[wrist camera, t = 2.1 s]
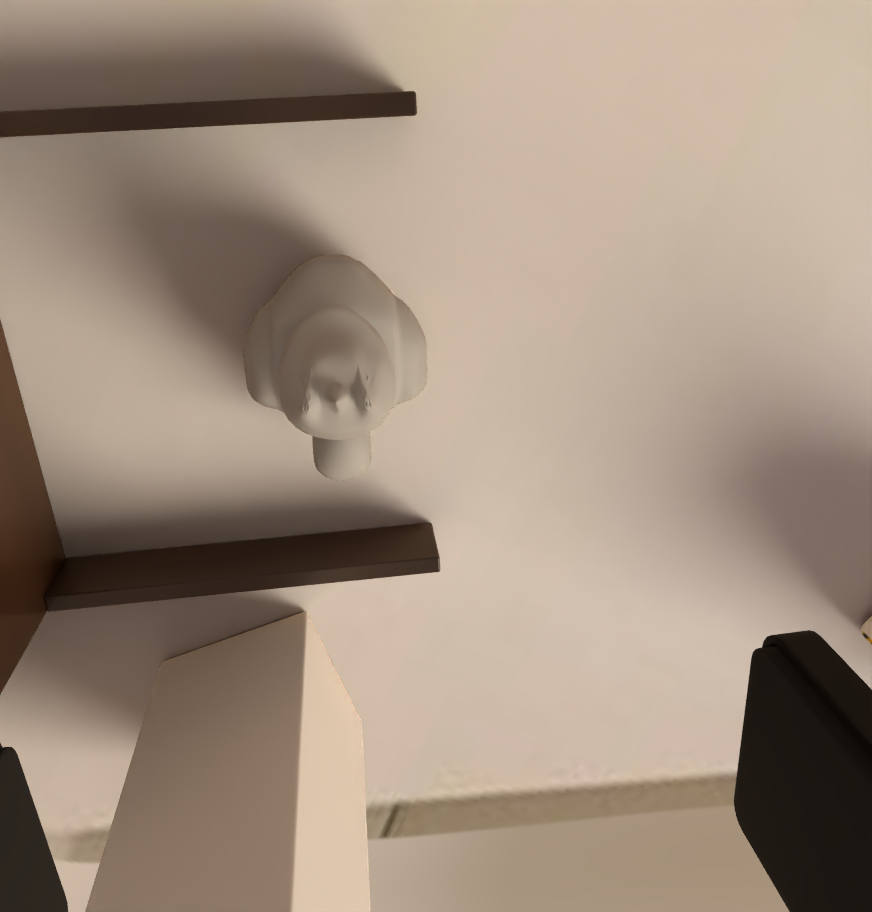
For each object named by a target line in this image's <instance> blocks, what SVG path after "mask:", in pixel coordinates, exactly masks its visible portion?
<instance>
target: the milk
mask: <svg viewBox="0 0 872 912" xmlns="http://www.w3.org/2000/svg"><path fill="white" fill-rule="evenodd" d="M369 889H370V888H369V866H368V845H367V823H366V802H365V780H364V759H363V737H362V723H361V720H360V718H359V716H358V714H357V712H356V710H355V708H354V706H353V704H352V702H351V700H350V698H349V695H348V693H347V691H346V689H345V687H344V685H343V683H342V681H341V679H340V677H339V675H338V673H337V671H336V669H335V667H334V665H333V663H332V661H331V659H330V657H329V655H328V653H327V651H326V649H325V647H324V645H323V643H322V641H321V639H320V637H319V635H318V633H317V631H316V629H315V627H314V625H313V623H312V621H311V619H310V617H309V615H308V614H307V612H302V613H299V614H296V615H293V616H290V617H287V618H285V619H282V620H279V621H276V622H273V623H270V624H268V625H265V626H262V627H259V628H256V629H253V630H251V631H248V632H245V633H242V634H239V635H236V636H234V637H231V638H228V639H225V640H222V641H219V642H217V643H214V644H211V645H208V646H205V647H202V648H200V649H197V650H194V651H191V652H188V653H185V654H183V655H180V656H177V657H174V658H171V659H168V660H166V661H163V662H162V663H161V665H160V668H159V671H158V674H157V677H156V681H155V684H154V687H153V691H152V694H151V697H150V700H149V704H148V707H147V710H146V714H145V717H144V720H143V724H142V727H141V730H140V733H139V737H138V740H137V743H136V747H135V750H134V753H133V756H132V760H131V763H130V766H129V770H128V773H127V776H126V779H125V783H124V786H123V789H122V793H121V796H120V799H119V802H118V806H117V809H116V812H115V816H114V819H113V822H112V825H111V829H110V832H109V835H108V839H107V842H106V845H105V849H104V852H103V855H102V858H101V862H100V865H99V869H98V872H97V875H96V878H95V881H94V885H93V888H92V891H91V895H90V898H89V901H88V905H87V908H86V911H85V912H371V910H370V890H369Z"/></svg>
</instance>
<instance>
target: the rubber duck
mask: <svg viewBox="0 0 872 912" xmlns="http://www.w3.org/2000/svg"><path fill="white" fill-rule="evenodd" d="M243 353H244V363H245V372H246V381H247V388H248V391H249V393H250V395H251V397H252V398H253V399H254V400H255V401H256V402H258V403H260V404H262V405H264V406H267V407H271V408H275V409H279V410H281V411H283V412H284V413H285V414H286V416H287V418H288V419H289V421H290V422H291V423H292V424H293V425H294V426H295V427H296V428H298V429H299V430H301V431H303V432H304V433H307V434H309V435H312V436H313V454H314V462H315V465H316V468H317V469H318V471H319V472H320V473H321V474H323V475H324V476H325V477H327V478H330V479H333V480H343V481H344V480H351V479H354V478H356V477H359V476H360V475H362V474H363V473H364V472H365V471H366V470H367V468H368V467H369V465H370V462H371V438H370V431H371V430H373V429H375V428H376V427H377V426H379V425H380V424H381V423H382V422H383V421H384V419H385V418H386V417H387V415H388V414H389V411H390V409H392V408H393V407H395V406H396V405H397V404H399V403H402V402H404V401H407V400H410V399H412V398H414V397H416V396H417V395H418V394H420V393H421V392H422V391H423V389H424V387H425V385H426V381H427V345H426V339H425V336H424V333H423V331H422V329H421V327H420V325H419V323H418V321H417V319H416V317H415V316H414V314H413V312H412V311H411V310H410V308H409V307H408V306H407V305H406V304H405V303H404V302H403V301H402V300H400V299H399V298H397V297H396V296H395V295H394V294H393V293H392V292H391V291H390V290H389V289H388V287H387V286H386V285H385V284H384V283H383V282H382V281H381V280H380V279H379V278H378V277H377V276H376V275H375V274H374V273H373V272H372V271H371V270H370V269H369V268H367V267H366V266H365V265H364V264H363V263H361V262H360V261H357V260H355V259H353V258H351V257H348V256H344V255H321V256H316V257H313V258H311V259H309V260H307V261H306V262H304V263H302V264H300V265H299V266H298V267H297V268H296V269H295V271H294V272H293V273H292V274H291V275H290V276H289V277H288V278H287V279H286V281H285V282H284V283H283V284H282V285H281V287H280V288H279V289H278V291H277V292H276V293H275V295H274V296H273V298H272V299H271V300H270V301H269V302H268V303H267V304H265V305H264V306H263V307H262V308H261V309H260V310H259V312H258V313H257V315H256V316H255V318H254V320H253V322H252V324H251V327H250V329H249V331H248V334H247V337H246V340H245V344H244V351H243Z"/></svg>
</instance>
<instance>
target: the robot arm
mask: <svg viewBox="0 0 872 912" xmlns="http://www.w3.org/2000/svg"><path fill="white" fill-rule="evenodd" d="M734 806H735V812H736V816H737V820H738V822H739V825H740V827H741V829H742V831H743V833H744V834H745V836H746V838H747V840H748V841H749V843H750V845H751V846H752V848H753V850H754V851H755V853H756V855H757V857H758V858H759V860H760V862H761V863H762V865H763V867H764V868H765V870H766V872H767V874H768V875H769V877H770V879H771V880H772V882H773V884H774V886H775V887H776V889H777V891H778V892H779V894H780V896H781V897H782V899H783V901H784V903H785V904H786V906H787V908H788V910H789V911H790V912H872V690H871V689H870V688H869V687H868V685H867V684H866V683H865V682H864V681H863V680H862V679H861V678H860V677H859V676H858V675H857V674H856V673H855V672H854V671H853V670H852V669H851V668H850V667H849V666H848V664H847V663H846V662H845V661H844V660H843V659H842V658H841V657H840V656H839V655H838V654H837V653H836V652H835V651H834V650H833V649H832V648H831V647H830V646H829V645H828V643H827V642H826V641H825V640H824V639H823V638H822V637H821V636H820V635H818V634H817V633H816V632H814V631H810V630H808V631H801V632H793V633H785V634H777V635H771V636H768V637H767V638H766V639H765V640H764V642H763V646H762V648H758V649H755V651H754V652H753V654H752V659H751V667H750V675H749V683H748V691H747V699H746V707H745V715H744V723H743V731H742V739H741V747H740V755H739V763H738V771H737V779H736V787H735V795H734ZM0 912H68V906H67V900H66V896H65V893H64V890H63V887H62V885H61V881H60V879H59V875H58V873H57V870H56V867H55V864H54V861H53V858H52V855H51V852H50V849H49V846H48V843H47V840H46V837H45V834H44V831H43V828H42V826H41V823H40V820H39V817H38V814H37V811H36V808H35V805H34V802H33V799H32V796H31V793H30V790H29V787H28V784H27V781H26V779H25V776H24V773H23V770H22V767H21V764H20V761H19V758H18V755H17V753H16V751H15V750H14V749H13V748H12V747H4V748H2V746H1V744H0Z"/></svg>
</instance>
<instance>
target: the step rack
mask: <svg viewBox="0 0 872 912" xmlns="http://www.w3.org/2000/svg"><path fill="white" fill-rule="evenodd" d="M416 114H417V106H416V93H415V92H414V91H406V92H386V93H366V94H346V95H326V96H306V97H286V98H266V99H245V100H225V101H205V102H185V103H165V104H145V105H125V106H105V107H85V108H65V109H45V110H25V111H5V112H0V137H16V136H35V135H54V134H73V133H92V132H111V131H130V130H149V129H168V128H187V127H206V126H225V125H244V124H263V123H282V122H302V121H321V120H340V119H359V118H378V117H397V116H415V115H416ZM439 571H440V557H439V553H438V549H437V544H436V540H435V536H434V531H433V527H432V524H431V523H424V524H413V525H403V526H393V527H382V528H372V529H362V530H351V531H341V532H331V533H320V534H310V535H300V536H289V537H279V538H269V539H258V540H248V541H238V542H227V543H217V544H207V545H196V546H186V547H176V548H165V549H155V550H145V551H135V552H124V553H114V554H104V555H93V556H83V557H73V558H66V559H65V556H64V552H63V548H62V545H61V541H60V537H59V534H58V530H57V526H56V523H55V519H54V515H53V512H52V508H51V504H50V501H49V497H48V493H47V490H46V486H45V482H44V479H43V475H42V471H41V468H40V464H39V460H38V457H37V453H36V449H35V446H34V442H33V438H32V435H31V431H30V427H29V424H28V420H27V416H26V413H25V409H24V405H23V402H22V398H21V394H20V391H19V387H18V383H17V380H16V376H15V372H14V369H13V365H12V361H11V358H10V354H9V350H8V347H7V343H6V339H5V336H4V332H3V328H2V325H1V321H0V694H1V692H2V691H3V689H4V687H5V685H6V683H7V682H8V680H9V678H10V676H11V674H12V673H13V671H14V669H15V667H16V666H17V664H18V662H19V660H20V658H21V657H22V655H23V653H24V651H25V649H26V648H27V646H28V644H29V642H30V640H31V639H32V637H33V635H34V633H35V632H36V630H37V628H38V626H39V624H40V623H41V621H42V619H43V617H44V615H45V614H46V612H47V611H48V612H50V611H60V610H70V609H80V608H89V607H99V606H109V605H119V604H128V603H138V602H148V601H158V600H168V599H177V598H187V597H197V596H207V595H216V594H226V593H236V592H246V591H256V590H265V589H275V588H285V587H295V586H304V585H314V584H324V583H334V582H344V581H353V580H363V579H373V578H383V577H392V576H402V575H412V574H422V573H432V572H439Z"/></svg>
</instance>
